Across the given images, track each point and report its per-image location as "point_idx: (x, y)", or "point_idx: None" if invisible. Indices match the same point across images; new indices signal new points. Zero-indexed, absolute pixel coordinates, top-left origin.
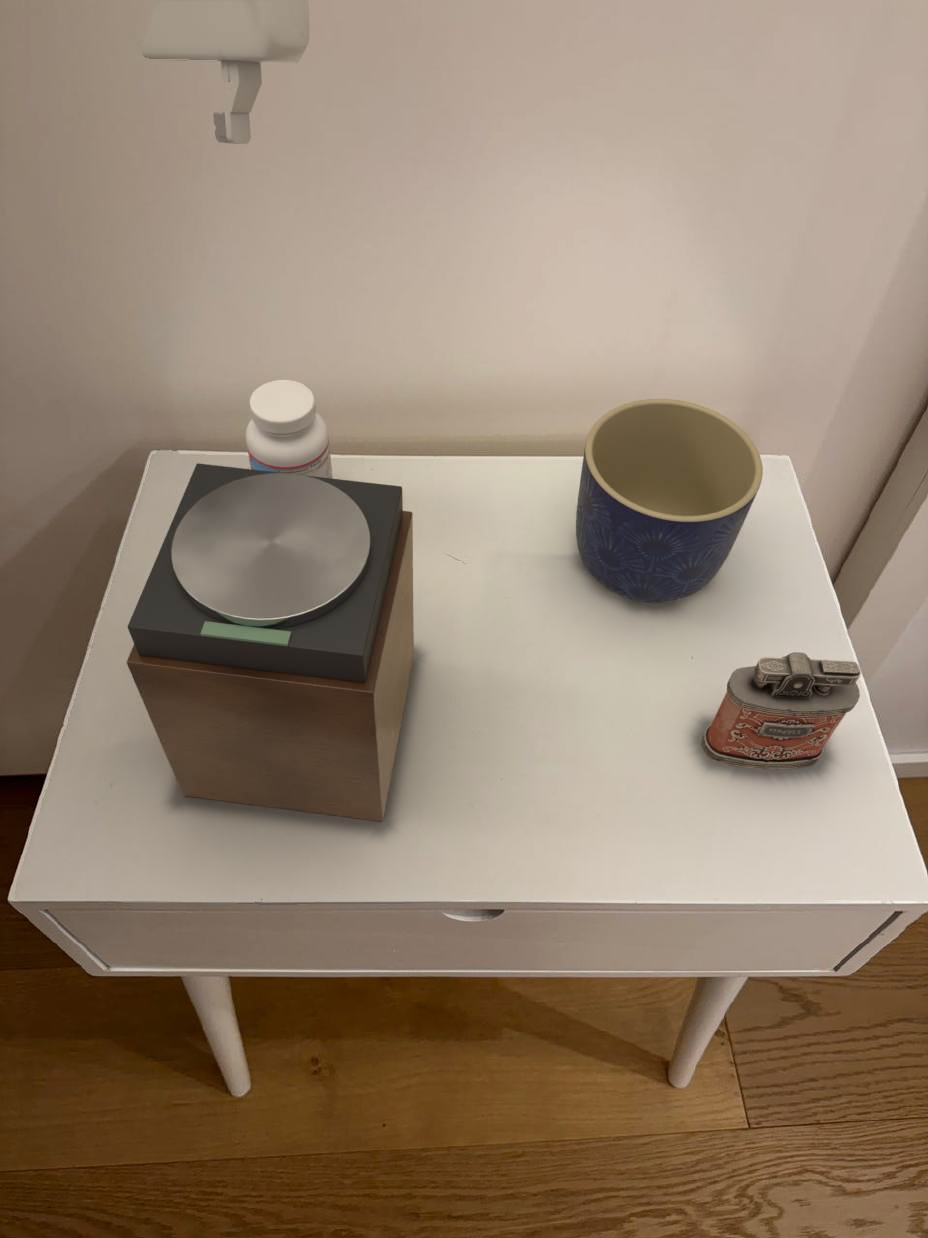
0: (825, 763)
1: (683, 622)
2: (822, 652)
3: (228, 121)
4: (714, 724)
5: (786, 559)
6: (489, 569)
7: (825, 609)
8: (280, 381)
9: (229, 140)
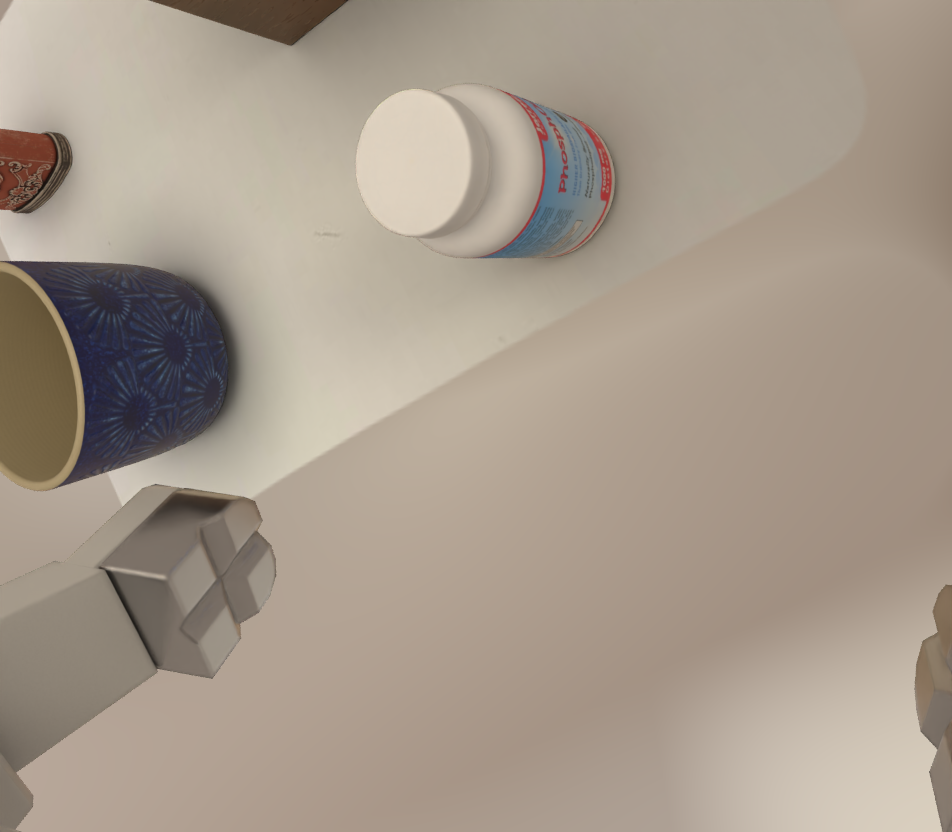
0: None
1: None
2: None
3: (105, 532)
4: (25, 139)
5: None
6: (290, 241)
7: None
8: (442, 213)
9: (174, 487)
